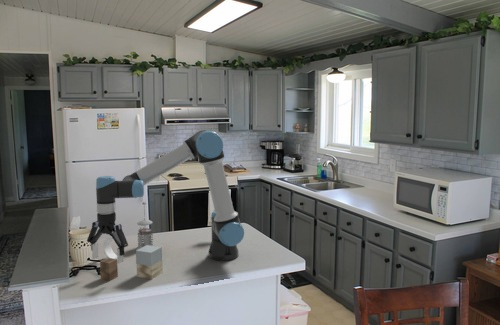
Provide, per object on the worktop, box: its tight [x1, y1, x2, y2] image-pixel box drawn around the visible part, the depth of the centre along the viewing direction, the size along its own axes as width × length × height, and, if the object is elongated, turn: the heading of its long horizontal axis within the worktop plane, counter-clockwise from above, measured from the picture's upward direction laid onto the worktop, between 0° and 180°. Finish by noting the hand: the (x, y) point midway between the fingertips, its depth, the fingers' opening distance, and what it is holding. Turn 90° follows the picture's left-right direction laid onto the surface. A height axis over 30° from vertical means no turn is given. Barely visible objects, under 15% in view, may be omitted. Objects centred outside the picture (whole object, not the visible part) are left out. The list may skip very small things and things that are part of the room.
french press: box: [135, 201, 155, 250], centre depth 216 cm, size 10×12×25 cm
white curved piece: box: [102, 236, 118, 260], centre depth 201 cm, size 5×6×12 cm
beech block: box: [136, 259, 164, 280], centre depth 181 cm, size 8×8×6 cm
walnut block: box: [99, 258, 119, 282], centre depth 177 cm, size 5×5×8 cm
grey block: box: [135, 245, 163, 266], centre depth 180 cm, size 8×8×6 cm
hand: (107, 260), depth 176 cm, fingers open, 13 cm apart
